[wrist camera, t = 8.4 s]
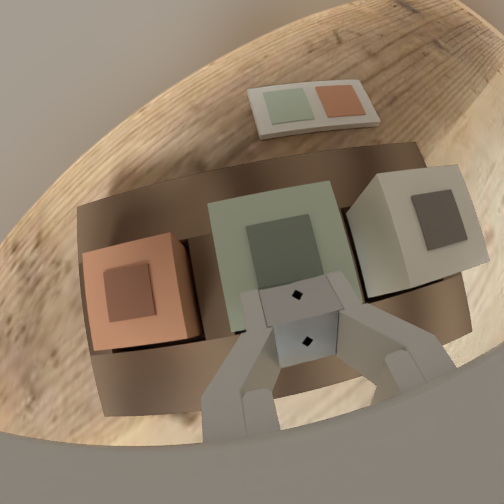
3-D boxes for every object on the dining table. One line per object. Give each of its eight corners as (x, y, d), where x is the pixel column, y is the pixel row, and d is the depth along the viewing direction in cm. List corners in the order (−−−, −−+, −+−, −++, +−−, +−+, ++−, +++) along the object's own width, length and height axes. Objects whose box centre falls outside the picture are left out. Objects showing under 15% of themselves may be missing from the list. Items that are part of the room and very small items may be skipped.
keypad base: (398, 163, 19) (415, 141, 16) (445, 331, 16) (472, 331, 14) (99, 221, 19) (76, 207, 16) (126, 403, 16) (104, 416, 13)
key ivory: (414, 201, 15) (458, 163, 11) (436, 277, 14) (491, 260, 10) (345, 213, 15) (377, 172, 11) (368, 297, 14) (412, 287, 10)
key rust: (192, 254, 17) (169, 231, 13) (206, 333, 16) (186, 338, 12) (122, 269, 17) (80, 252, 12) (133, 344, 16) (92, 351, 11)
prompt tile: (356, 84, 21) (359, 78, 20) (378, 126, 20) (381, 120, 19) (247, 94, 20) (246, 88, 20) (260, 140, 20) (260, 134, 19)
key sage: (309, 220, 15) (330, 178, 11) (331, 307, 14) (364, 301, 10) (222, 237, 15) (206, 201, 10) (240, 327, 14) (230, 332, 10)
